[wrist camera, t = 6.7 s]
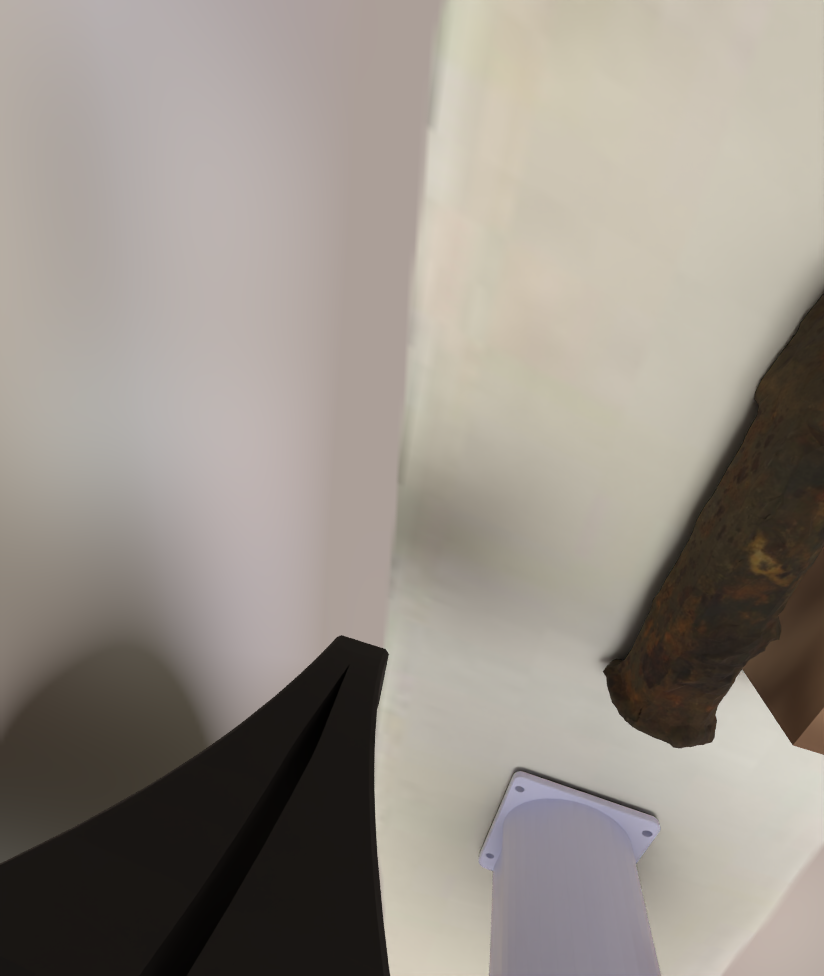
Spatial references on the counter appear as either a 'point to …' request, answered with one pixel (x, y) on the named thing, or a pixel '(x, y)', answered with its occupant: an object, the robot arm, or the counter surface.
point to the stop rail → (796, 664)
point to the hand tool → (735, 559)
